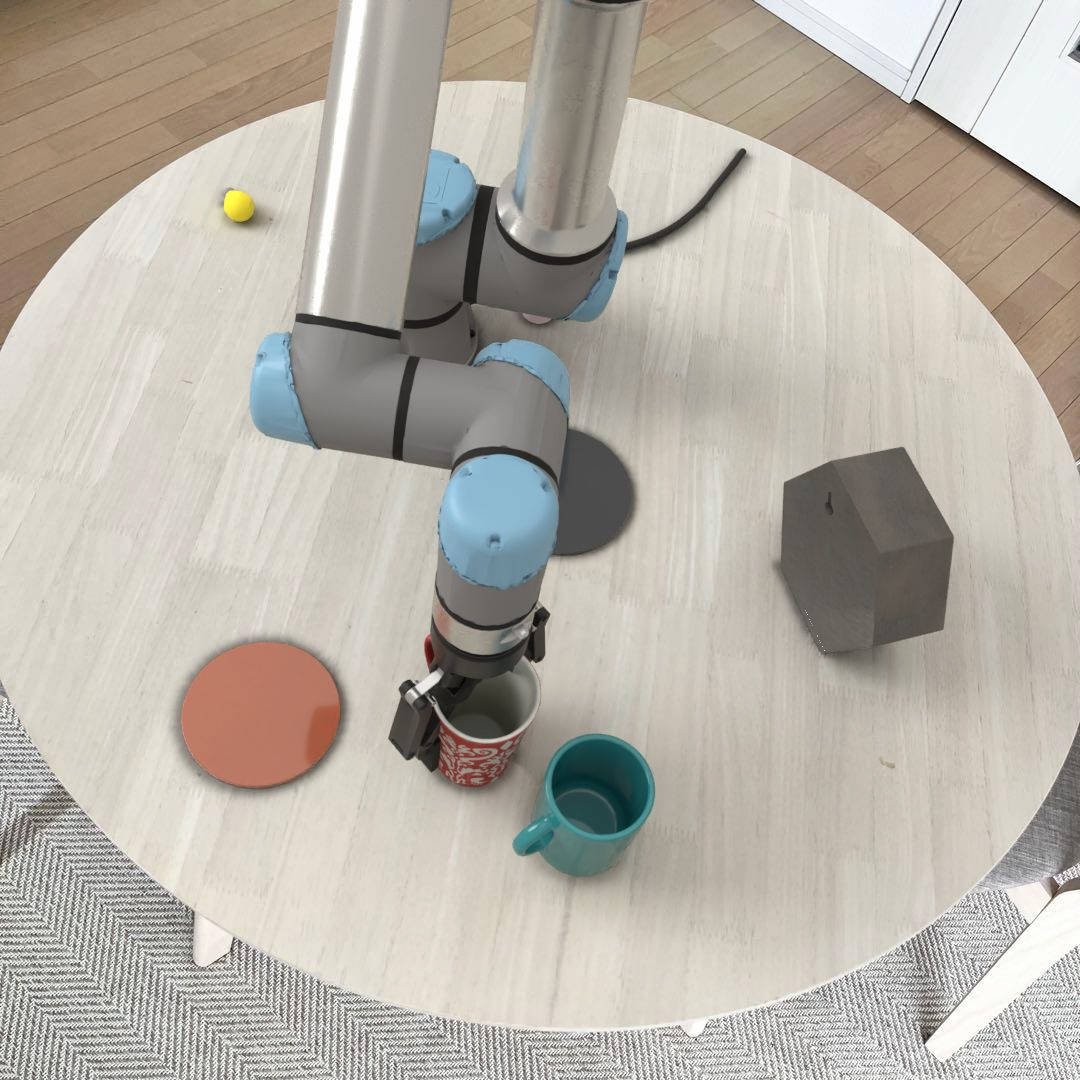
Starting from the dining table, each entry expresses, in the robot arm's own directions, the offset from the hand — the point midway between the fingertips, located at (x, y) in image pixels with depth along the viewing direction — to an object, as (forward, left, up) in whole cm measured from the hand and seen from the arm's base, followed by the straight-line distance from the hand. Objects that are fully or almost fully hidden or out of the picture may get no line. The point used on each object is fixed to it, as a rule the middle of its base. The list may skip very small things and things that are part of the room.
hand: (463, 730), depth 103 cm
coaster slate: (-25, -15, -1) cm, 29 cm away
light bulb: (-21, -68, -2) cm, 71 cm away
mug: (0, 0, -2) cm, 2 cm away
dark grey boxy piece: (-39, +12, -2) cm, 41 cm away
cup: (-1, +13, -2) cm, 13 cm away
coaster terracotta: (+13, -13, -1) cm, 18 cm away
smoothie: (-40, -35, -2) cm, 53 cm away
